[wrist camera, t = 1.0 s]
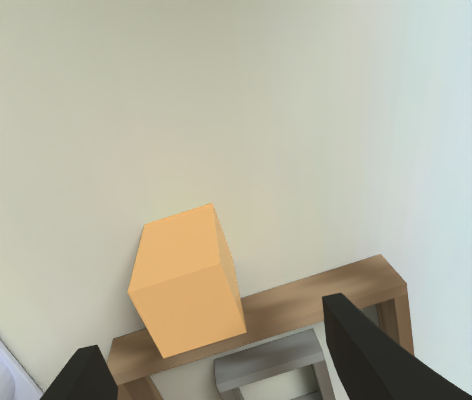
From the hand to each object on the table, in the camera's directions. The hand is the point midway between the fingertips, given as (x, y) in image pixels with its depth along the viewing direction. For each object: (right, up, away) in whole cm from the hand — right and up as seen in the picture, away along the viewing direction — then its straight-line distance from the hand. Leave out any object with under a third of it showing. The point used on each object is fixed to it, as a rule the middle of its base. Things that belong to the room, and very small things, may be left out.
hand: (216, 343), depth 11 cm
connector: (-2, +2, +10) cm, 10 cm away
